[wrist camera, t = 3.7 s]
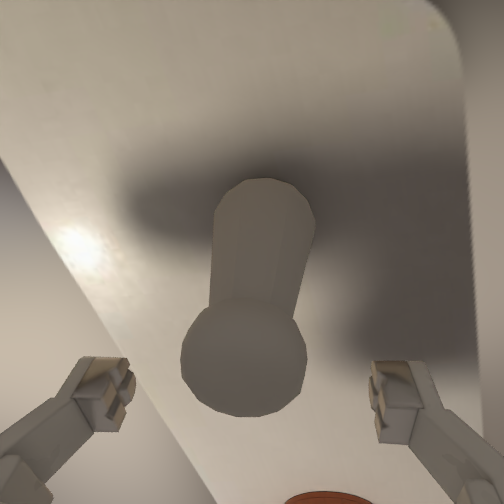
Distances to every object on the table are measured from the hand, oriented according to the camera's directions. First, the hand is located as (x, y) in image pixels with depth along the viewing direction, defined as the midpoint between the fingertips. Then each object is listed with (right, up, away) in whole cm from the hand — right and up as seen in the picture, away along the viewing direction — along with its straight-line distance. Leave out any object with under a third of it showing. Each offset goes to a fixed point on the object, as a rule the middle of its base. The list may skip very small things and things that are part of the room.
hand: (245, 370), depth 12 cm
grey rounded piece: (+1, +7, +10) cm, 12 cm away
